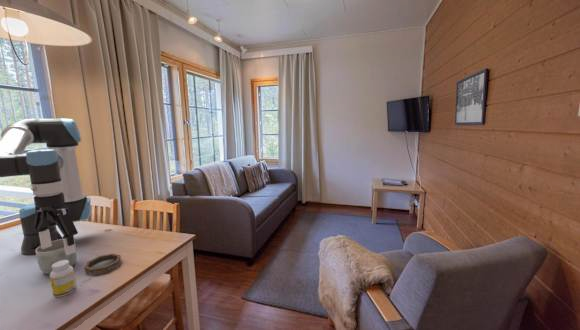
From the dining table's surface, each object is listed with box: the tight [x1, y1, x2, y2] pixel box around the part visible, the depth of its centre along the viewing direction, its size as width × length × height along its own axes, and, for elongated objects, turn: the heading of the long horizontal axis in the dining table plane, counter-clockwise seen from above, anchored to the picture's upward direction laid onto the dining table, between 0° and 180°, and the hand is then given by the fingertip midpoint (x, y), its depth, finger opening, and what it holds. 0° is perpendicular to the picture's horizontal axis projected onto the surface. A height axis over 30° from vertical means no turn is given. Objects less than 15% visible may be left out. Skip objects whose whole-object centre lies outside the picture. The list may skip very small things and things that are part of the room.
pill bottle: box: [49, 260, 77, 298], centre depth 91 cm, size 6×6×12 cm
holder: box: [84, 253, 122, 276], centre depth 107 cm, size 12×12×3 cm
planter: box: [35, 239, 77, 275], centre depth 106 cm, size 12×12×11 cm
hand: (58, 250), depth 89 cm, fingers open, 13 cm apart
